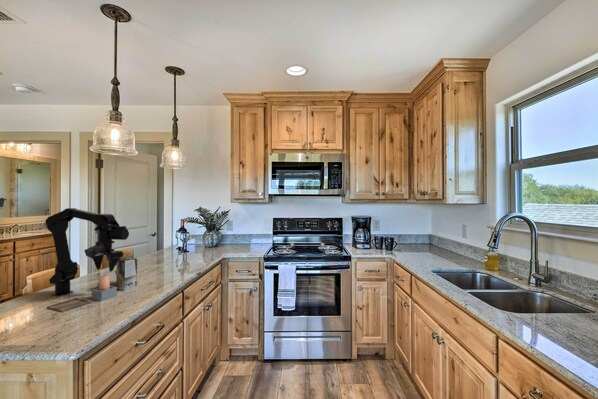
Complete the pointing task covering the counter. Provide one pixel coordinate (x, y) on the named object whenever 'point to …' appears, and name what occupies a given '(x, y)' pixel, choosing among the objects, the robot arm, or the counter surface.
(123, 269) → the coffee box
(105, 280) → the dowel
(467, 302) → the counter surface
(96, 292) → the open box
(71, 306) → the tray
